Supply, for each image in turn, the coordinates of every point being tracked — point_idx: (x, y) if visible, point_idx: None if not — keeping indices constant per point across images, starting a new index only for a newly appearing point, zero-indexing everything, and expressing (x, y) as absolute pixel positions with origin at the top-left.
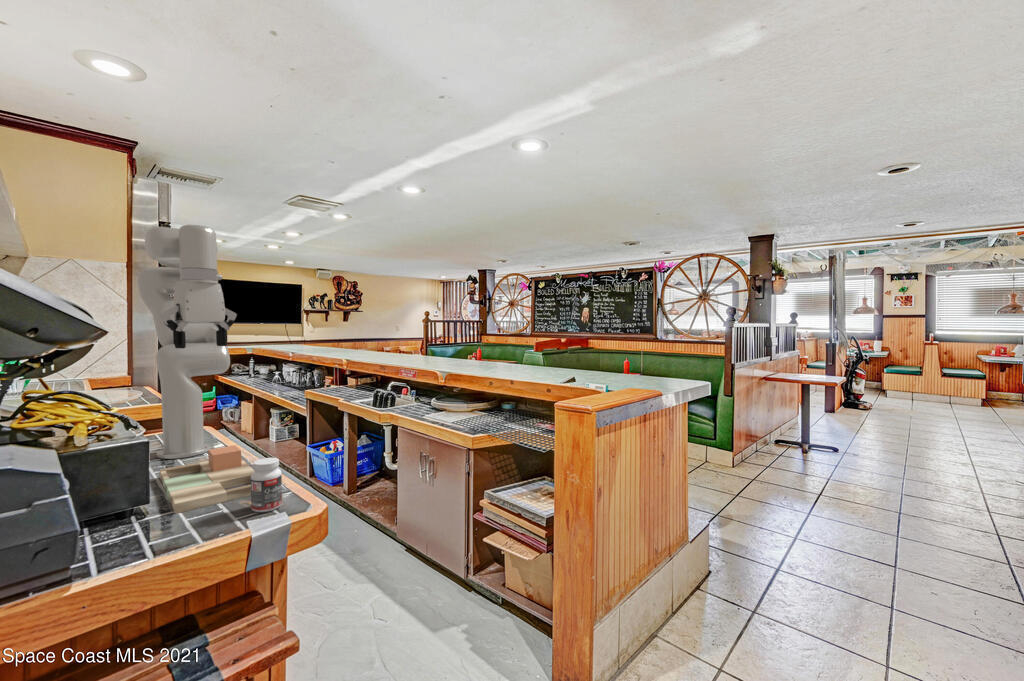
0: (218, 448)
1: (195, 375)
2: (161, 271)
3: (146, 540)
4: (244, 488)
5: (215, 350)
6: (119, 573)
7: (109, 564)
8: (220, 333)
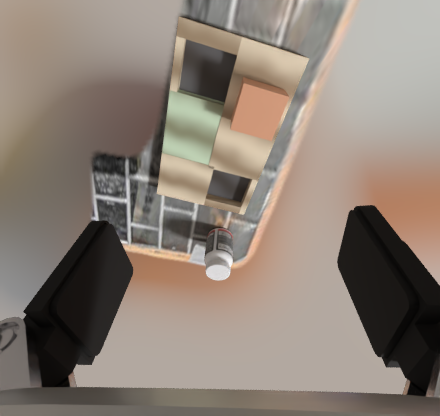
0: (259, 91)
1: None
2: None
3: (130, 218)
4: (221, 208)
5: None
6: None
7: None
8: (379, 318)
